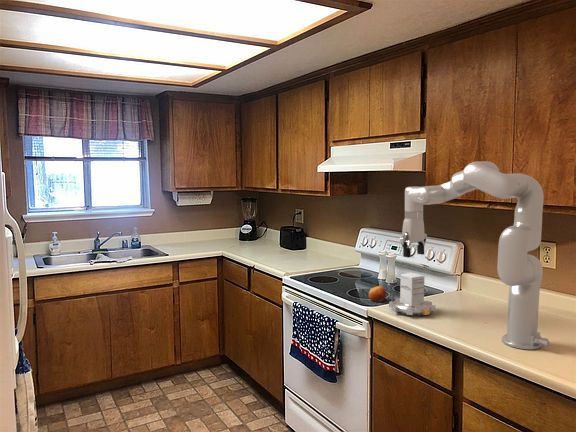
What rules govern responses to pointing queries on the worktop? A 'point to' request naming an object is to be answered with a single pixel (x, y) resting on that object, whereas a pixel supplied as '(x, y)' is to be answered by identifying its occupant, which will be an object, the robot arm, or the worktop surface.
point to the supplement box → (412, 289)
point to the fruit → (377, 294)
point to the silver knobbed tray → (412, 307)
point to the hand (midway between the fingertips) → (413, 255)
